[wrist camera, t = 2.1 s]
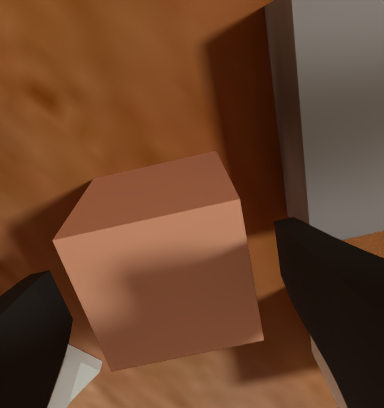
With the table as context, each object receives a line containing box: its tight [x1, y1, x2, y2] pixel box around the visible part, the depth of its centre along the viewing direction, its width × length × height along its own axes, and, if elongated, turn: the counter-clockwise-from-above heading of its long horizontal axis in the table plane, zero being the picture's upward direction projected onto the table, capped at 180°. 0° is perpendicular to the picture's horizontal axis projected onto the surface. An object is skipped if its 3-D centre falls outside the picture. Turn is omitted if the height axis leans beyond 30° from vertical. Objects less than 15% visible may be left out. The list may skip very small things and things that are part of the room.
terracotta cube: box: [52, 151, 264, 371], centre depth 12 cm, size 5×5×5 cm
